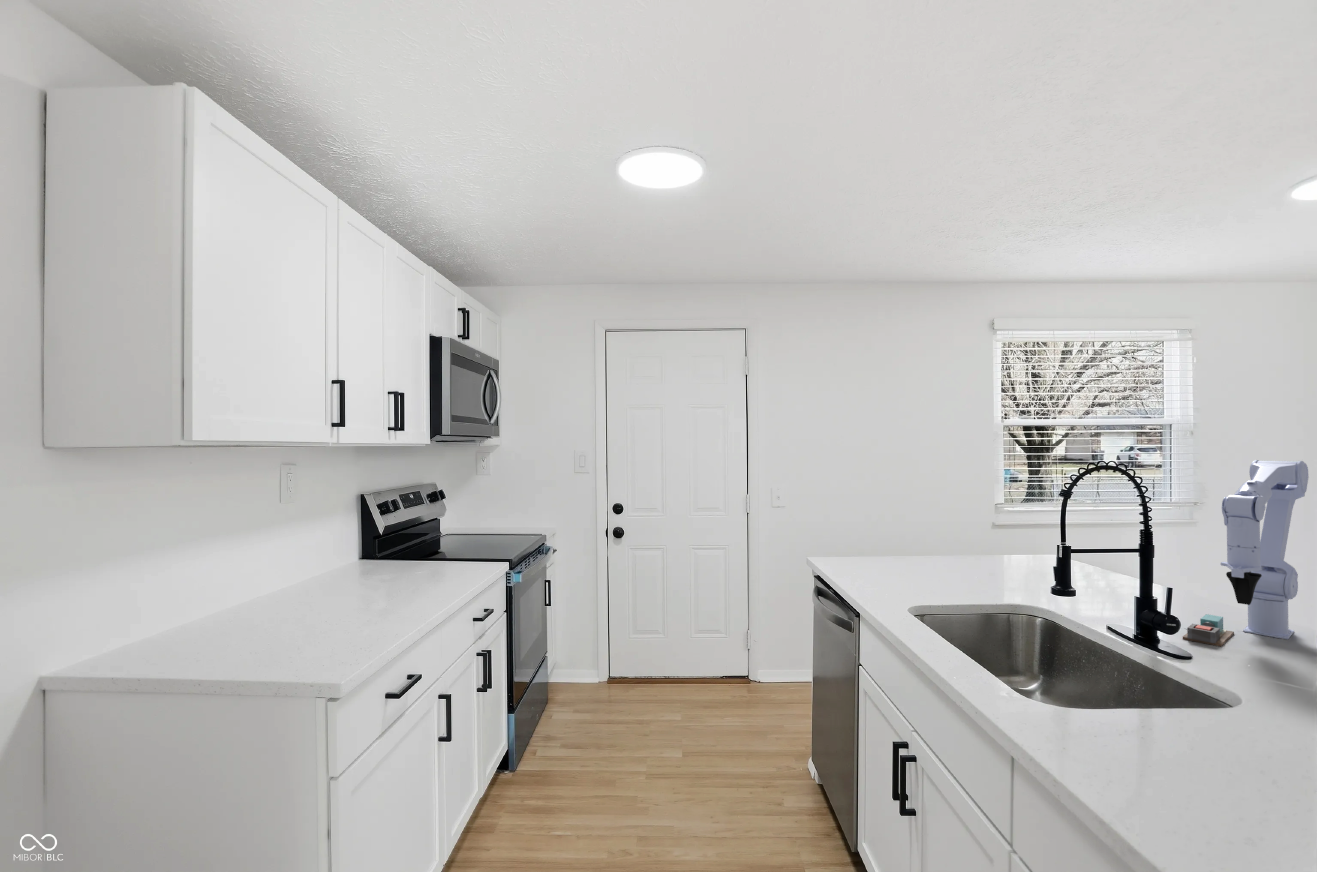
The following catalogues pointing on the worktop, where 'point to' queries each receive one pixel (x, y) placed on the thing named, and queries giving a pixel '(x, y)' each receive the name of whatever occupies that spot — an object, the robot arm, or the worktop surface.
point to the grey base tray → (1208, 635)
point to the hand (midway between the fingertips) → (1244, 603)
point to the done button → (1203, 628)
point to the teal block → (1212, 621)
